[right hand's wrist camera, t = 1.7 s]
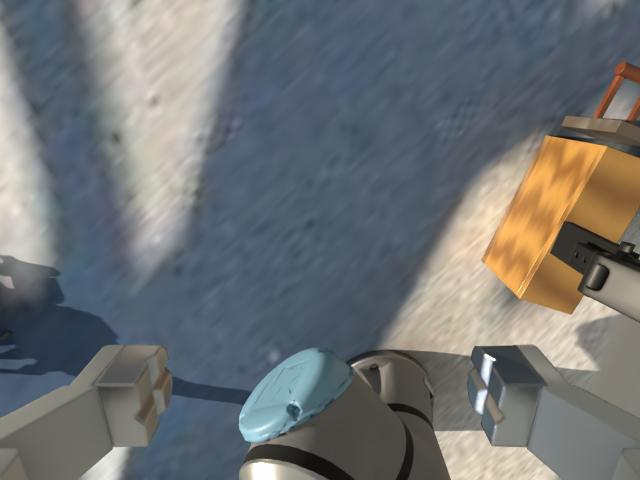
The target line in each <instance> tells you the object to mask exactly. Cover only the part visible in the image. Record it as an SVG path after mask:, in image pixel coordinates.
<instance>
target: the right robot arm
mask: <svg viewBox="0 0 640 480" xmlns="http://www.w3.org/2000/svg"><path fill="white" fill-rule="evenodd" d="M168 360H169V356H168V351H167V348H166V347H165V346H159V345H106V346H103V347H102V349H101V350H100V351H99V352H98V353H97V354H96V355H95V357H94V358H93V359H92V360H91V361H90V362H89V364H88V365H87V366H86V367H85V368H84V369H83V370H82V372H81V373H80V374H79V375H78V376H77V377H76V379H75V380H74V381H73V382H72V383H71V384H70V385H69V386H62V387H60V388H58V389H56V390H54V391H52V392H50V393H48V394H47V395H45V396H43V397H41V398H39V399H37V400H35V401H33V402H31V403H29V404H27V405H25V406H23V407H21V408H20V409H18V410H16V411H14V412H12V413H10V414H8V415H6V416H4V417H2V418H0V480H77V479H78V478H80V477H81V476H82V475H83V474H84V473H85V472H87V471H88V470H89V469H90V468H91V467H92V466H94V465H95V464H96V463H97V462H98V461H99V460H101V459H102V458H103V457H104V456H105V455H106V454H108V453H109V452H110V451H111V450H112V449H113V448H112V447H135V446H148V445H149V443H150V441H151V439H152V437H153V435H154V433H155V431H156V429H157V427H158V425H159V421H158V416H159V415H160V414H161V413H163V412H164V411H165V410H166V409H167V407H168V404H169V402H170V399H171V394H172V384H173V381H172V374H171V372H170V371H169V370H168V369H167V368H166V367H165V366H166V364H167V362H168ZM471 360H472V362H473V364H474V366H475V367H474V368H473V369H472V370H471V371H470V372H469V374H468V382H467V386H468V395H469V399H470V402H471V404H472V407H473V409H474V410H475V411H476V412H477V413H479V414H480V415H481V416H482V421H481V425H482V427H483V429H484V431H485V433H486V435H487V437H488V439H489V441H490V443H491V445H492V446H505V447H528V448H527V449H528V450H529V451H530V452H531V453H533V454H534V455H535V456H536V457H537V458H538V459H540V460H541V461H542V462H543V463H544V464H545V465H547V466H548V467H549V468H550V469H551V470H552V471H554V472H555V473H556V474H557V475H558V476H559V477H561V478H562V479H563V480H640V418H638V417H636V416H634V415H632V414H630V413H628V412H626V411H624V410H622V409H620V408H618V407H616V406H615V405H613V404H611V403H609V402H607V401H605V400H603V399H601V398H599V397H597V396H595V395H593V394H591V393H590V392H588V391H586V390H584V389H582V388H580V387H578V386H571V385H570V384H569V383H568V382H567V381H566V380H565V379H564V377H563V376H562V375H561V374H560V373H559V372H558V370H557V369H556V368H555V367H554V366H553V365H552V364H551V362H550V361H549V360H548V359H547V358H546V357H545V355H544V354H543V353H542V352H541V351H540V350H539V349H538V347H536V346H534V345H513V346H475V347H474V349H473V351H472V356H471Z"/></svg>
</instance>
